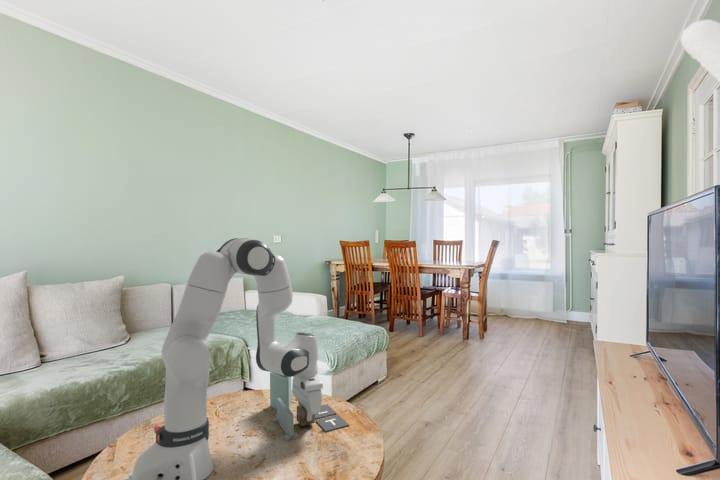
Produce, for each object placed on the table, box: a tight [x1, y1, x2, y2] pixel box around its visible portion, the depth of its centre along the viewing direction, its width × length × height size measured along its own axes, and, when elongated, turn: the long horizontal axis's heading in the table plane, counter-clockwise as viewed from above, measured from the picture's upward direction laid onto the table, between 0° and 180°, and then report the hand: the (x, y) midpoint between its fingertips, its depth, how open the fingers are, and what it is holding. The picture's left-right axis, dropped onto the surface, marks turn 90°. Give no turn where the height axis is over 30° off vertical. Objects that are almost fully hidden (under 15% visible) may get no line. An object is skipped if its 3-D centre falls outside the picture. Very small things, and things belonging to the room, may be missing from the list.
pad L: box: [315, 404, 338, 420], centre depth 143 cm, size 9×9×1 cm
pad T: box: [315, 414, 350, 433], centre depth 134 cm, size 9×9×1 cm
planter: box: [269, 372, 293, 410], centre depth 150 cm, size 16×8×20 cm, turn 7°
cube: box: [296, 405, 316, 427], centre depth 134 cm, size 5×5×5 cm
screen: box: [272, 397, 299, 441], centre depth 131 cm, size 4×16×8 cm, turn 28°
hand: (305, 416), depth 134 cm, fingers closed on cube, 5 cm apart
